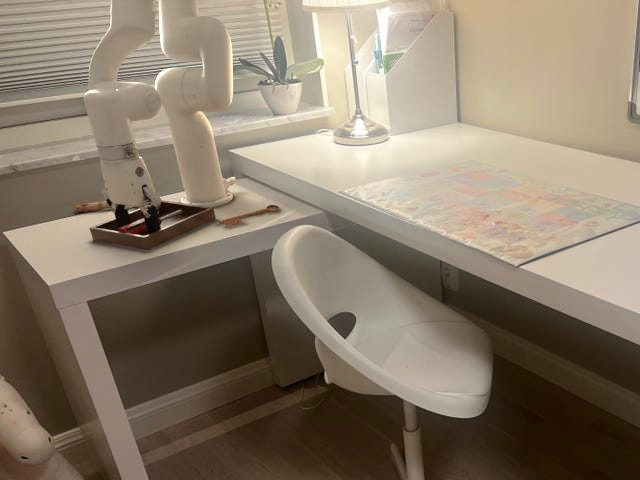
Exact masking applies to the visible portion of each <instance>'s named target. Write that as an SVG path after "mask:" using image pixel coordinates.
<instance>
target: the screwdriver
mask: <svg viewBox="0 0 640 480" xmlns="http://www.w3.org/2000/svg"><path fill="white" fill-rule="evenodd" d="M180 213H182V210H178V211H176V212H173V213H171V214H168V215H166V216H164V217H161V218H159V217H158V220H159V223H160V225H161V223H162V222H161V221H164V220H166V219H168V218H171V217H173V216H176V215H178V214H180ZM118 231H119V232H125V233H130V234H136V235H142V236H144V235H146V234H148V232H147V228H146V225H145V221H144V218H143V219H140V220H138V221H135V222H133V223H131V224H128V225H126V226H123V227H121V228H119V229H118Z"/></svg>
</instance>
